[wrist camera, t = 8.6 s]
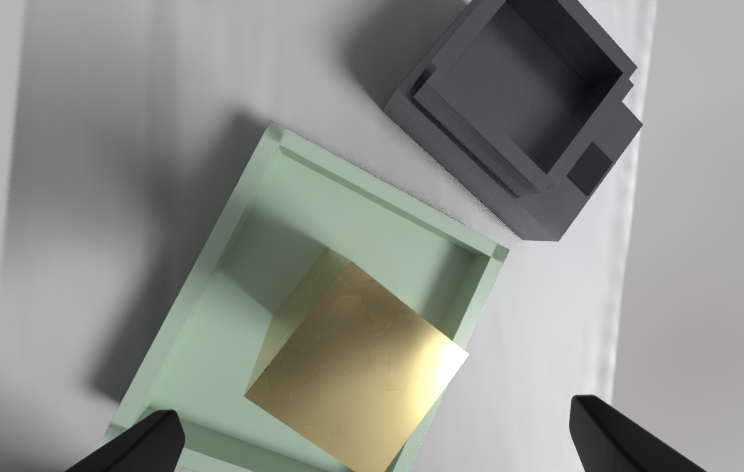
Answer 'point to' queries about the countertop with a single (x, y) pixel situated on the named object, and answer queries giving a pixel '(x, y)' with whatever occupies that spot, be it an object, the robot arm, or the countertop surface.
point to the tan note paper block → (350, 365)
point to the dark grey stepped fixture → (522, 109)
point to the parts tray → (276, 282)
